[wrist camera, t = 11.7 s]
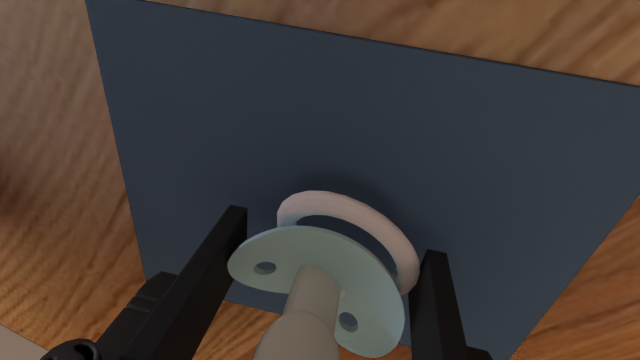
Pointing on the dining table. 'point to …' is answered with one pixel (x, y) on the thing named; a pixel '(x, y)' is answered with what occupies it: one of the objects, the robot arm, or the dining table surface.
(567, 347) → the dining table surface
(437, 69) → the mat
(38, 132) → the dining table surface
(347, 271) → the pacifier
